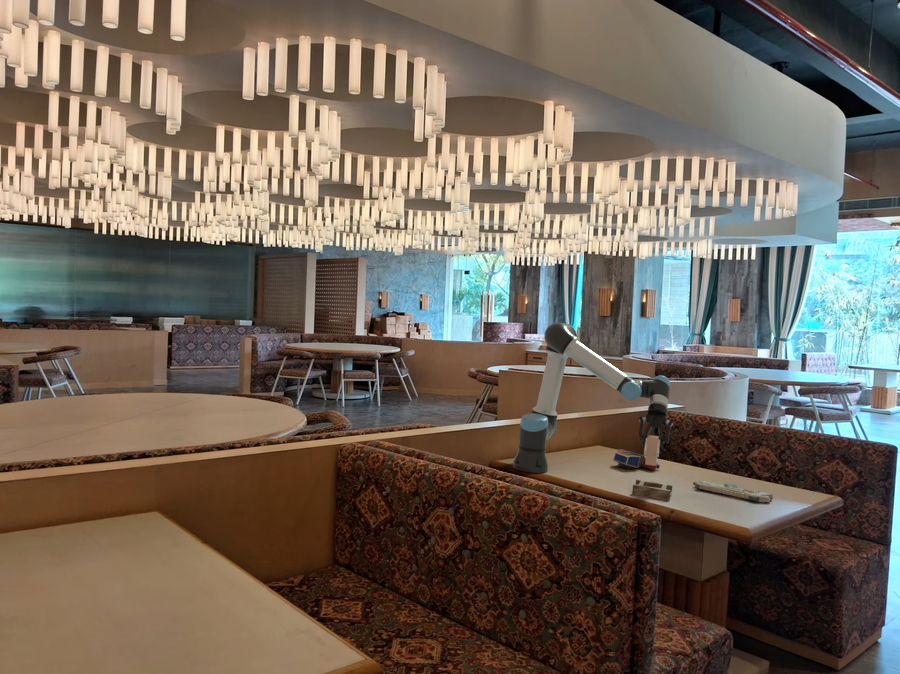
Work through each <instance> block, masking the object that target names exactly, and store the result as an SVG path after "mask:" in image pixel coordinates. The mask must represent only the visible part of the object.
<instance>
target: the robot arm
mask: <svg viewBox="0 0 900 674" xmlns="http://www.w3.org/2000/svg"><path fill="white" fill-rule="evenodd" d="M543 336H544V337H543V338H544V341H545V344H546V347H545V352H546V353H547V358H546V362H545V368H544V371H543V374H542V381H541V384H540V389H539V393H538V398H537V402H536V406H534V407H532V410H531V413H526V414H523V415H522V416H521V419H520V424H519V425H520V427H519V436H518V437H519V439H518V450H517V452H516V455H515V457H514V460H513V462H512V468H513V469H514V470H517V471H518V472H519V471H521V472H525V473H533V474H543V473H542V472H544V473H547V472H548V471H549V464H548V460H547V454H546V448H547V447H546V446H547V441H549V440H550V439H551V438H552V437H553V436H554V435H555V433H556V432H557V430H558V429H557V427H558V424H557V419H558V412H557V411H556V408H557V403H558V399H559V395H560V392H561V391H560V390H561V386H562V382H563V377H564V374H565V370H566V369H565V368H566V365H567V360H568V358H570V359H572V361H574V362H576V363H577V364H579V365H580V366H582V367H583V368H585V369H586V370H587V371H589V372H590V373H592V374H593V375H594V376H596V377H597V378H598V379H600V380H602V381H603V382H604V383H606V384H608V385H609V386H610V387H611V388H613V389H614V390H616V391H617V392H618V393H619V394H621V395H622V397H623V398H624V399H626V400H628V401H635V400H638V399H639V398H641V399H642V398H643V399H644V398H645V399H649V400H648V401H649V402H648V408H647V414H646V415H645V416H644V417H643V416H639V417H638V418H639V419H638V420H639V430H638V439H639V440H642V443H641V447H642V448H643V449H644V450H643V456H646V451H647V437H648V435H650V433H651V431H652V429H653V428H657V429H658V433H659V434H658V436H659V440H658V446H657V458H659V457H660V456H659V455H660V450H663V449H664V444H665V443H667V444H668V443H669V441H670V435H671V429H672V427H673V425H674V420H673V419H670V420H669V419H668V418H667V415H668V414H667V413H668V406H669V399H670V391H671V381H670V379H669V378H668V377H666V376H664V375H657V376H654V377H653V378H652V380H646V379H645V380H644V379H635V378H631V377H630V376H628V375H627V374H626V373H624V372H623V371H621V370H619V368H617V367H615V366H614V365H612V364H611V362H610V363H609V362H608V361H607V360H605V359H604V358H603V357H601V356H600V355H598V354H597V353H596V352H594V351H593V350H591V349H589V348H588V347H587V346H585V345H584V344H583V343H582V342H580V341H579V340H578V333H577V331H576V329H575V328H574V327H573V326H572V324H569V323H566V322H565V323H564V322H554V323H551V324H550V325H548V327H546V329H545V331H544V335H543ZM646 422H647V424H648V425H647V427H646V429H645V432H644V424H645V423H646ZM665 424H666V425H667V426H666V431H665V435H664V433H663V431H664V430H663V426H664V425H665ZM643 433H644V434H643ZM664 436H665V437H664Z"/></svg>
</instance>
